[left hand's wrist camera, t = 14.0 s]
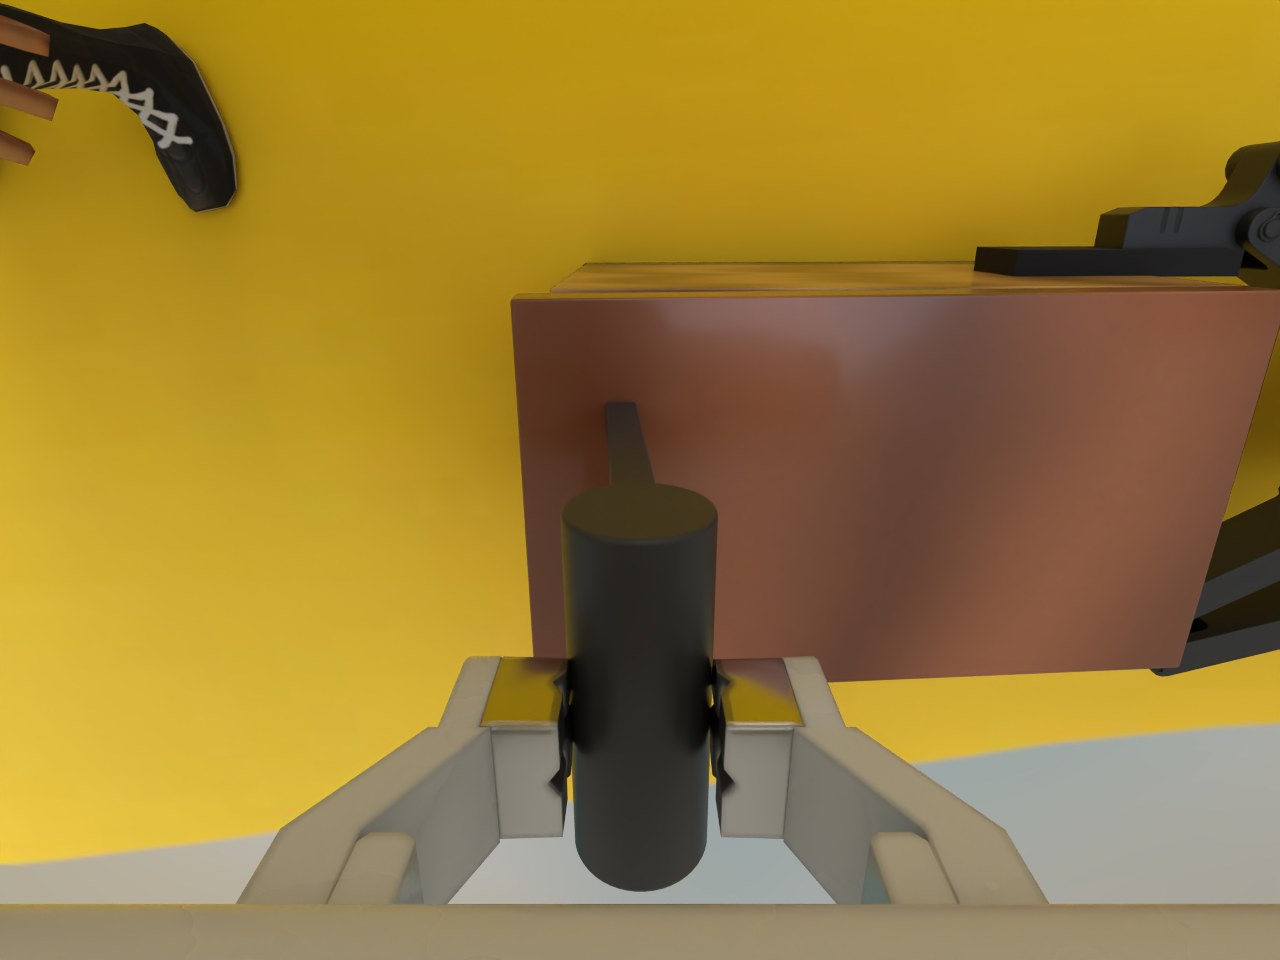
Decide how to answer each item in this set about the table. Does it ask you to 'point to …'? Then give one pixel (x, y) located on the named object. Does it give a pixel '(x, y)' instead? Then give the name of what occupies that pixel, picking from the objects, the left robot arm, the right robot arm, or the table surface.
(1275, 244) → the right robot arm
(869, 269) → the chest
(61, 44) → the figurine
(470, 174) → the table surface
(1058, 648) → the lid
